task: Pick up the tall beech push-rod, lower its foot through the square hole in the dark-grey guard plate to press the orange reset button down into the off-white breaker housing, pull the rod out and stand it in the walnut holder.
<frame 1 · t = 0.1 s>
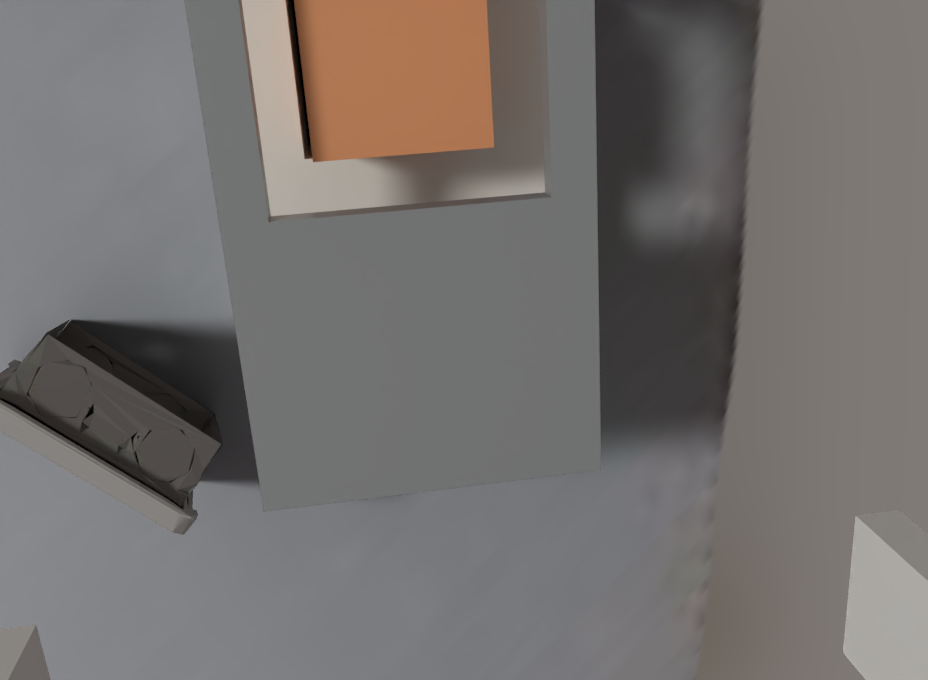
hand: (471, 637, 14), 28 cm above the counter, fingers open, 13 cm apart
reset button: (390, 58, 31), point 7 cm above the counter, slide at 0.0 cm
electrical switch: (127, 379, 41), on the counter
breaker box: (390, 161, 39), on the counter
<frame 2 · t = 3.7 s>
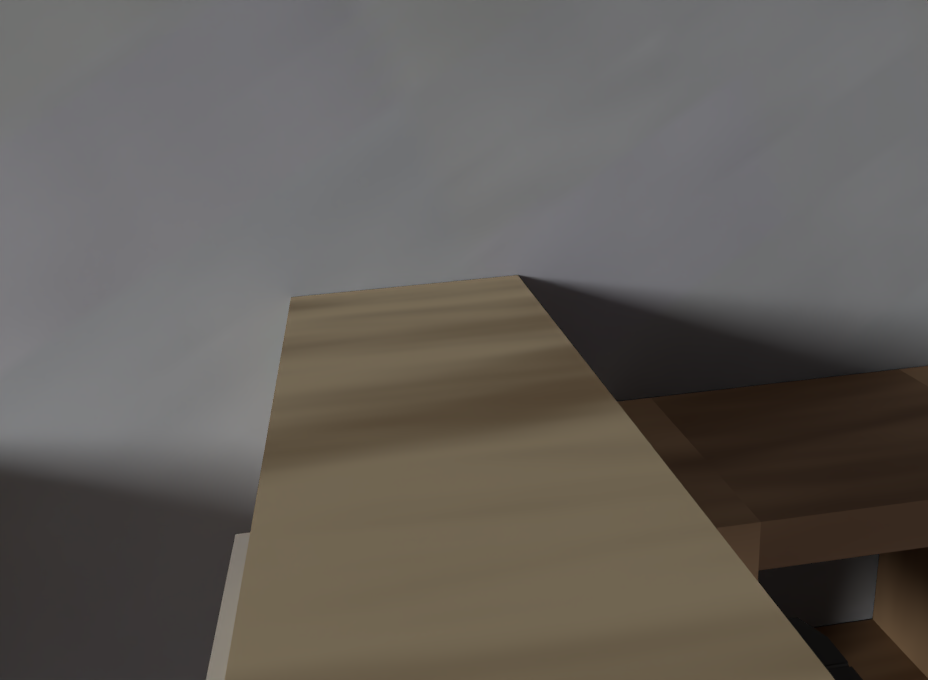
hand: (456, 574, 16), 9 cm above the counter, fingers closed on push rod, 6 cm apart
push rod: (415, 391, 24), on the counter, touching gripper
holder: (768, 532, 27), on the counter
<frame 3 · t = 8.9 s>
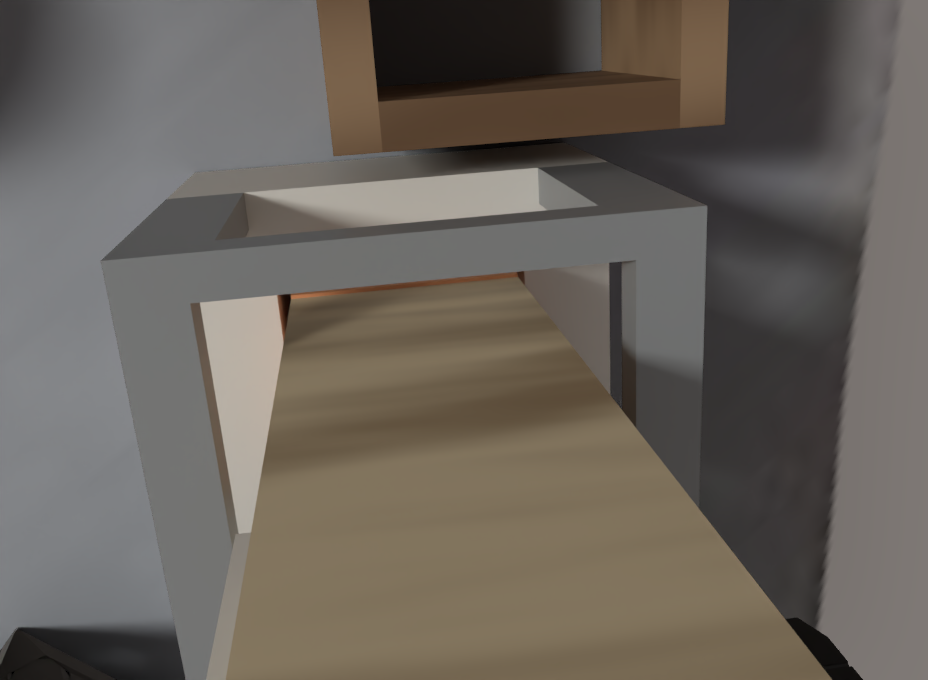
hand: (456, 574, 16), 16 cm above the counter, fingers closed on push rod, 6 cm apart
reset button: (406, 352, 27), point 4 cm above the counter, slide at 3.6 cm, touching push rod
push rod: (415, 392, 24), point 7 cm above the counter, touching gripper, reset button
breaker box: (409, 436, 32), on the counter
when the fingers open (10 cm above the counter, at t = 14.4 s): push rod stays where it is, resting in holder.
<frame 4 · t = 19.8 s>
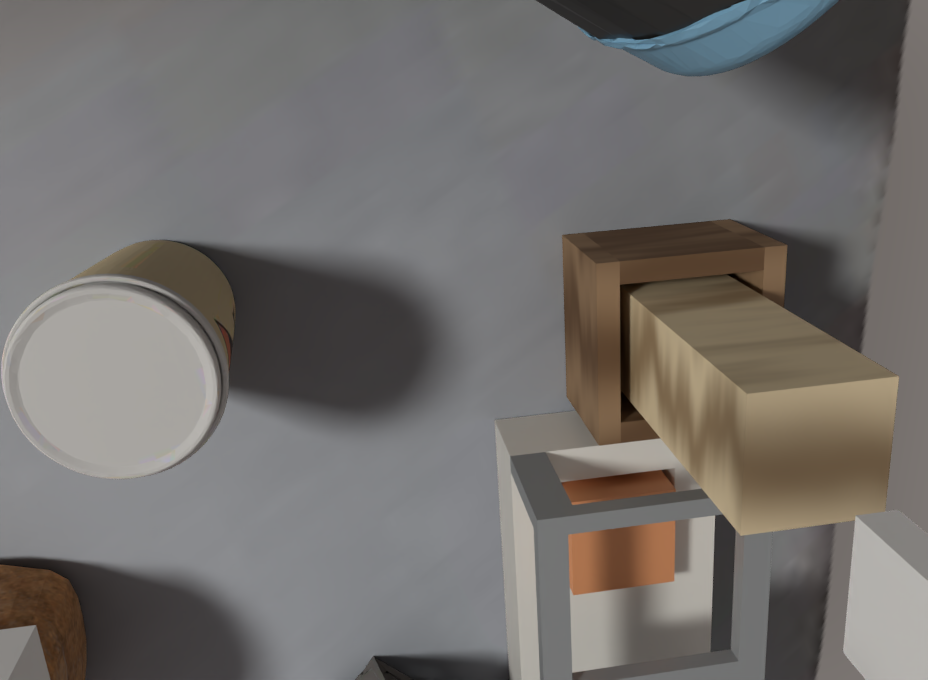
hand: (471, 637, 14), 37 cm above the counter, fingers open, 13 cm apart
reset button: (608, 515, 53), point 3 cm above the counter, slide at 3.7 cm
push rod: (646, 309, 53), resting in holder
coffee cup: (164, 306, 49), on the counter
breaker box: (593, 550, 58), on the counter
holder: (646, 309, 53), on the counter
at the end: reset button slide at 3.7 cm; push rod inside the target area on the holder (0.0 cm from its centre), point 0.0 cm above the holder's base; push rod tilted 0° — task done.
